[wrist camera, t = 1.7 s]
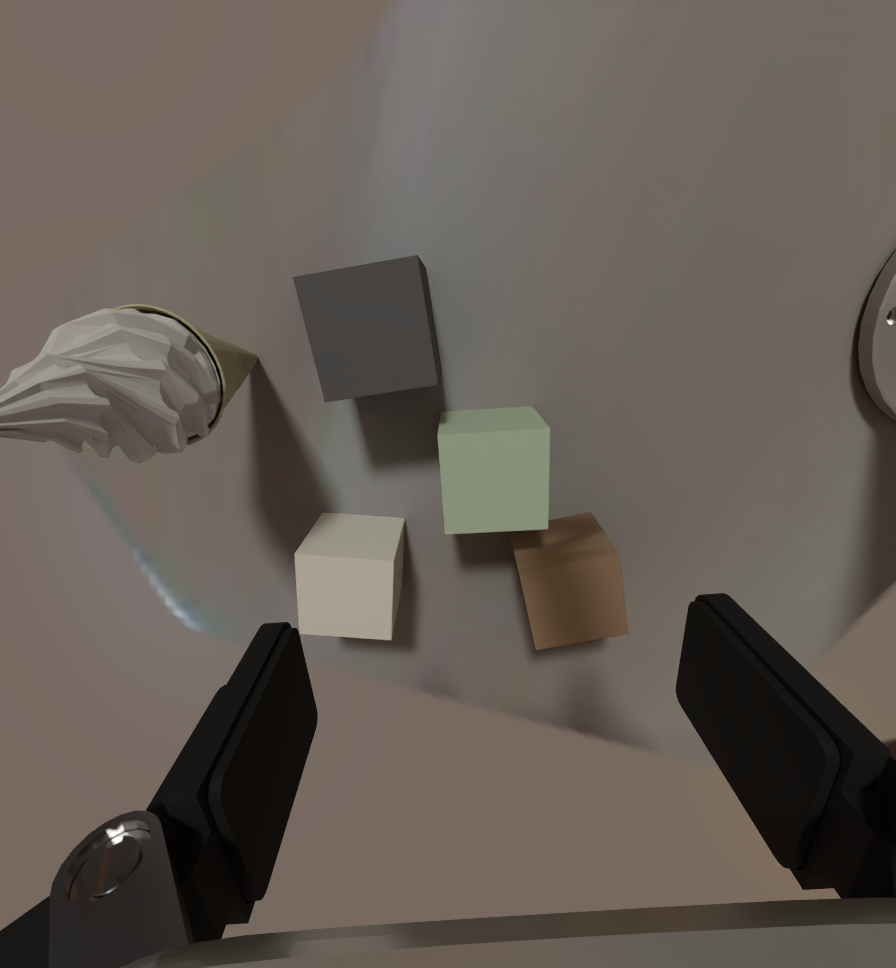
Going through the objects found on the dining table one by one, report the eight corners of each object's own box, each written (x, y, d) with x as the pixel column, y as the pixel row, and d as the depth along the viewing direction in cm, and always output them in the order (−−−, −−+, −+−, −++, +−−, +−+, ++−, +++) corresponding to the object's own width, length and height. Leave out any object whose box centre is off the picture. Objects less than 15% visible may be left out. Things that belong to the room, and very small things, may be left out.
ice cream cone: (278, 422, 24) (37, 570, 10) (191, 373, 23) (-201, 462, 9) (317, 342, 23) (94, 390, 9) (226, 286, 22) (-185, 239, 8)
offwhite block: (404, 517, 26) (393, 561, 22) (402, 586, 28) (391, 640, 24) (323, 511, 26) (294, 553, 22) (325, 581, 28) (299, 633, 24)
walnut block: (590, 511, 26) (619, 554, 21) (600, 580, 28) (628, 633, 23) (508, 528, 27) (519, 574, 22) (523, 594, 28) (535, 650, 24)
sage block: (531, 405, 24) (549, 428, 19) (531, 490, 26) (547, 529, 21) (441, 411, 24) (437, 435, 19) (447, 494, 26) (445, 534, 21)
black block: (425, 267, 21) (417, 255, 17) (441, 370, 23) (438, 384, 19) (327, 284, 22) (292, 276, 17) (351, 384, 24) (325, 402, 19)
